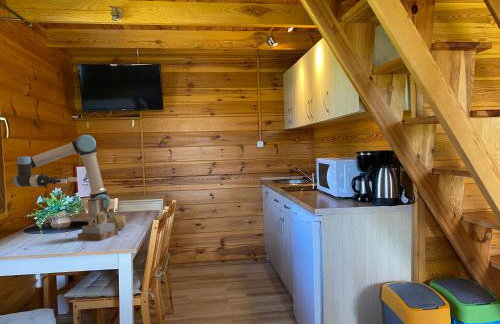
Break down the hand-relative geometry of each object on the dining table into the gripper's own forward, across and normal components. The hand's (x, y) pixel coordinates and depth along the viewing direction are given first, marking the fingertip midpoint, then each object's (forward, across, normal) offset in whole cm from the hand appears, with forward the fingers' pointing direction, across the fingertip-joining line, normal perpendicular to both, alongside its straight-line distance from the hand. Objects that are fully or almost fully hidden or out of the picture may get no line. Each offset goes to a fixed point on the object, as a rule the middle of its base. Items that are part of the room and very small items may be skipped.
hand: (72, 180), depth 228 cm
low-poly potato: (+25, -5, -34) cm, 43 cm away
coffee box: (+22, +13, -27) cm, 37 cm away
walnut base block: (+22, +13, -35) cm, 43 cm away
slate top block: (+22, +13, -31) cm, 40 cm away
